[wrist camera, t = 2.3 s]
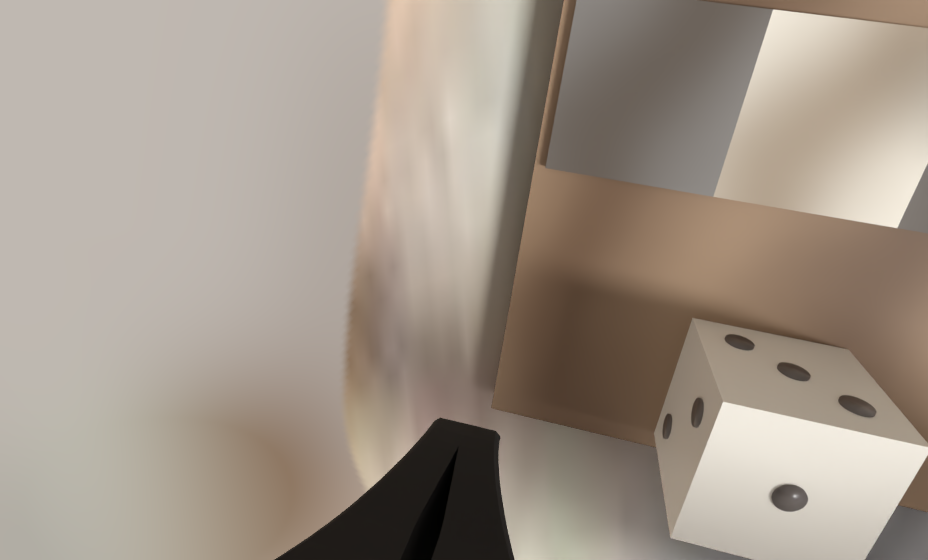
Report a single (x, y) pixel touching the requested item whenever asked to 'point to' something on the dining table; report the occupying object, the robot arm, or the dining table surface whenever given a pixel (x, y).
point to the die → (780, 447)
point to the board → (722, 201)
